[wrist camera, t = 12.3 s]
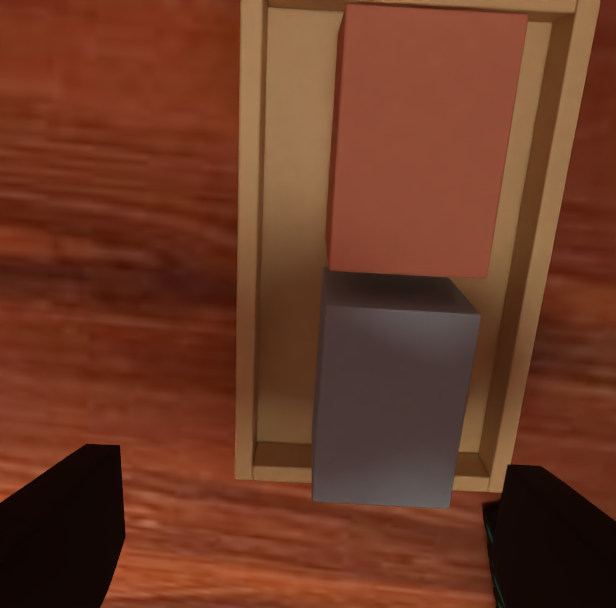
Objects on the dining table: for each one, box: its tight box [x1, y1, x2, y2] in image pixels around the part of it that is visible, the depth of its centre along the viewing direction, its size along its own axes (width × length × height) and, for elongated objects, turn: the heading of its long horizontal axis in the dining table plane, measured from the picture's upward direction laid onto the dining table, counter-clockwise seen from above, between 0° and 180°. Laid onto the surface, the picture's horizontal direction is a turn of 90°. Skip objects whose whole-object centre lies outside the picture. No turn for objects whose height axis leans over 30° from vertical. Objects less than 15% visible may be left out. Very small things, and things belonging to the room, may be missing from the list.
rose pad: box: [325, 4, 528, 279], centre depth 15 cm, size 4×6×4 cm, turn 177°
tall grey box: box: [312, 267, 481, 509], centre depth 17 cm, size 4×6×4 cm, turn 177°
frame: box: [235, 0, 601, 493], centre depth 17 cm, size 9×15×2 cm, turn 177°
